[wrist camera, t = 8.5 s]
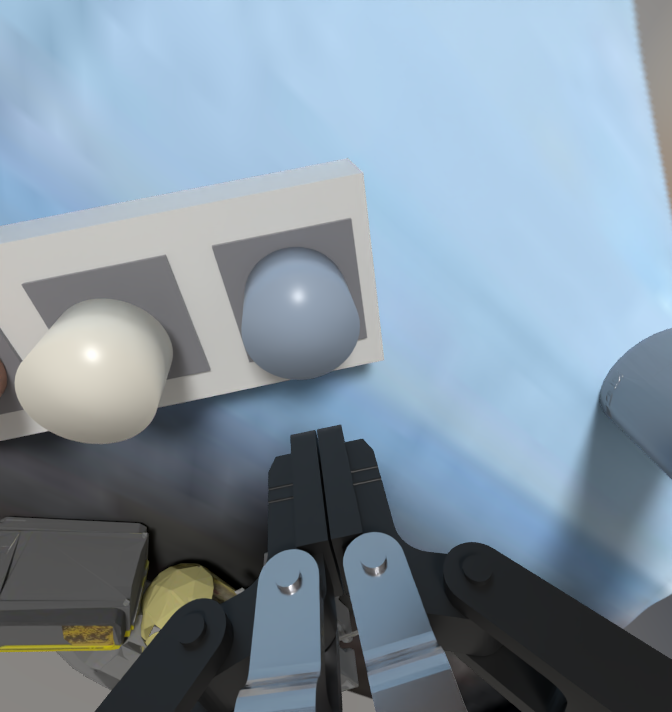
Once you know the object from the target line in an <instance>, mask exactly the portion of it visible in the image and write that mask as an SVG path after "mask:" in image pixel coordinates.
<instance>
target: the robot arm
mask: <svg viewBox="0 0 672 712" xmlns="http://www.w3.org/2000/svg"><path fill="white" fill-rule="evenodd" d="M600 404H601V408H602V410H603V411H604V413H605V414H606V415H607V416H608V417H609V418H610V419H611V420H612V421H613V422H614V423H615V424H616V425H617V426H618V427H619V428H620V429H621V430H622V431H623V432H624V433H625V434H626V435H627V436H628V437H629V438H630V439H631V440H632V441H633V442H634V443H635V444H636V445H637V446H638V447H639V448H640V449H641V450H642V451H643V452H644V453H645V454H646V455H647V456H648V457H649V458H650V459H651V460H652V461H653V462H654V463H655V464H656V465H657V466H658V467H659V468H660V469H661V470H662V471H663V472H664V473H665V474H666V475H667V476H669V477H670V478H671V479H672V328H671V329H667V330H664V331H661V332H658V333H656V334H653V335H652V336H650V337H648V338H646V339H644V340H642V341H641V342H639V343H638V344H636V345H635V346H634V347H632V348H631V349H629V350H628V351H627V352H626V353H625V354H624V355H623V356H622V357H621V358H620V359H619V360H618V361H617V362H616V363H615V364H614V366H613V367H612V368H611V369H610V371H609V372H608V374H607V376H606V378H605V379H604V382H603V384H602V387H601V391H600ZM317 435H318V438H317ZM290 441H291V454H287V455H283V456H278V457H276V458H275V460H274V462H273V464H272V466H271V468H270V470H269V472H268V489H269V491H268V502H269V505H268V555H267V561H266V564H265V566H264V567H263V569H262V571H261V573H260V576H259V577H258V579H257V580H256V581H255V582H254V583H253V584H252V585H251V586H250V587H248V588H247V589H246V590H244V591H243V592H241V593H239V594H237V595H236V596H234V597H232V598H230V599H229V600H227V601H225V602H223V603H222V604H219V603H218V602H216V601H214V600H212V599H208V598H200V599H195V600H192V601H190V602H188V603H186V604H185V605H183V606H182V607H180V608H179V609H178V610H177V611H176V612H175V613H174V614H173V615H172V616H171V617H170V619H169V620H168V621H167V622H166V624H165V625H164V626H163V627H162V629H161V630H160V631H159V632H158V634H157V635H156V636H155V637H154V639H153V640H152V641H151V642H150V644H149V645H148V646H147V647H146V649H145V650H144V651H143V652H142V653H141V655H140V656H139V657H138V658H137V660H136V661H135V662H134V663H133V665H132V666H131V667H130V668H129V670H128V671H127V672H126V673H125V675H124V676H123V677H122V678H121V680H120V681H119V682H118V683H117V685H116V686H115V687H114V688H113V690H112V691H111V692H110V693H109V694H108V696H107V697H106V698H105V700H104V701H103V702H102V703H101V705H100V706H99V707H98V708H97V709H96V711H95V712H342V694H341V673H340V654H339V634H338V627H337V625H338V622H337V612H336V604H335V597H338V596H343V595H344V593H343V586H342V581H343V584H344V588H345V591H346V594H350V598H351V602H352V607H353V611H354V615H355V620H356V624H357V628H358V633H359V637H360V641H361V646H362V650H363V655H364V659H365V664H366V670H367V675H368V679H369V684H370V688H371V693H372V697H373V701H374V706H375V710H376V712H467V710H466V707H465V705H464V702H463V699H462V697H461V694H460V691H459V689H458V686H457V683H456V681H455V678H454V675H453V673H452V670H451V667H450V665H449V662H448V660H447V657H446V655H445V653H444V651H443V650H445V651H451V652H454V654H455V655H456V656H457V657H458V658H459V659H460V660H461V661H462V662H464V663H465V664H466V665H467V666H468V667H470V668H471V669H472V670H473V671H474V672H476V673H477V674H478V675H479V676H480V677H481V678H483V679H484V680H485V681H486V682H487V683H489V684H490V685H491V686H492V687H493V688H494V689H496V690H497V691H498V692H499V693H500V694H502V695H503V696H504V697H505V698H506V699H507V700H509V701H510V702H511V703H512V704H513V705H515V706H516V707H517V708H518V709H519V710H520V711H522V712H672V659H670V658H668V657H667V656H665V655H663V654H662V653H660V652H659V651H657V650H656V649H654V648H652V647H651V646H649V645H648V644H646V643H644V642H643V641H641V640H640V639H638V638H636V637H635V636H633V635H631V634H630V633H628V632H627V631H625V630H623V629H622V628H620V627H619V626H617V625H615V624H614V623H612V622H611V621H609V620H607V619H606V618H604V617H603V616H601V615H599V614H598V613H596V612H595V611H593V610H591V609H590V608H588V607H586V606H585V605H583V604H582V603H580V602H578V601H577V600H575V599H574V598H572V597H570V596H569V595H567V594H566V593H564V592H562V591H561V590H559V589H558V588H556V587H554V586H553V585H551V584H550V583H548V582H546V581H545V580H543V579H541V578H540V577H538V576H537V575H535V574H533V573H532V572H530V571H529V570H527V569H525V568H524V567H522V566H521V565H519V564H517V563H516V562H514V561H513V560H511V559H509V558H508V557H506V556H505V555H503V554H501V553H500V552H498V551H496V550H495V549H493V548H491V547H489V546H487V545H485V544H481V543H476V542H468V543H463V544H460V545H458V546H456V547H454V548H453V549H452V550H451V551H450V552H449V553H448V554H443V553H434V552H426V551H421V550H418V549H415V548H413V547H411V546H410V545H408V544H407V543H406V542H404V541H403V540H402V539H401V537H400V536H399V535H398V533H397V531H396V529H395V527H394V523H393V520H392V516H391V512H390V509H389V505H388V502H387V498H386V494H385V491H384V487H383V483H382V480H381V476H380V473H379V469H378V465H377V462H376V458H375V454H374V451H373V449H372V448H371V447H370V446H369V445H368V444H367V443H366V442H365V441H364V440H363V439H359V440H354V441H349V442H345V441H344V436H343V431H342V426H341V425H337V426H332V427H327V428H322V429H317V434H316V431H315V430H313V431H308V432H304V433H299V434H294V435H291V437H290ZM341 577H342V579H341Z"/></svg>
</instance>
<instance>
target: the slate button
mask: <svg viewBox="0 0 672 712" xmlns="http://www.w3.org/2000/svg"><path fill="white" fill-rule="evenodd" d="M241 333H242V340H243V344H244V346H245V349H246V351H247V353H248V354H249V356H250V357H251V358H252V360H253V361H254V362H255V363H256V364H257V365H258V366H259V367H261V368H262V369H263V370H265V371H267V372H269V373H270V374H273V375H275V376H278V377H281V378H285V379H291V380H306V379H312V378H316V377H320V376H322V375H325V374H327V373H329V372H331V371H333V370H334V369H336V368H337V367H339V366H340V365H341V364H342V363H344V362H345V360H346V359H347V358H348V357H349V356H350V354H351V353H352V352H353V350H354V348H355V346H356V344H357V341H358V337H359V333H360V320H359V315H358V312H357V309H356V306H355V304H354V302H353V299H352V297H351V294H350V292H349V289H348V287H347V284H346V282H345V279H344V277H343V274H342V273H341V271H340V269H339V268H338V266H337V265H336V264H335V263H334V262H333V261H332V260H331V259H330V258H329V257H327V256H326V255H324V254H322V253H321V252H318V251H316V250H313V249H309V248H304V247H288V248H283V249H279V250H277V251H274V252H272V253H270V254H268V255H267V256H265V257H264V258H263V259H261V260H260V261H259V262H258V263H257V264H256V265H255V266H254V268H253V269H252V270H251V272H250V274H249V276H248V278H247V281H246V285H245V291H244V303H243V315H242V327H241Z"/></svg>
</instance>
